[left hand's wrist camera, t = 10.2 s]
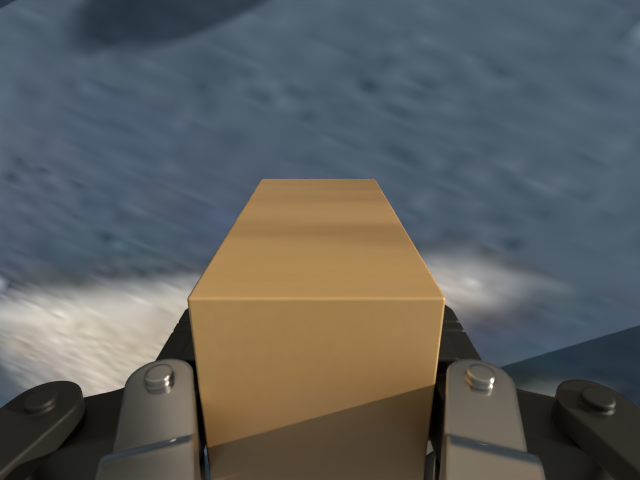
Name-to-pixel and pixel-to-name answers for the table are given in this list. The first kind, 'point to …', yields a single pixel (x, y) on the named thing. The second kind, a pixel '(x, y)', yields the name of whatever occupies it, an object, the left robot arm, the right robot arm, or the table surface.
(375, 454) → the bar
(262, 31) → the table surface
